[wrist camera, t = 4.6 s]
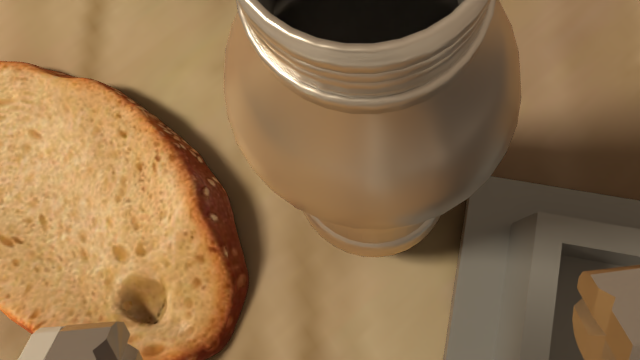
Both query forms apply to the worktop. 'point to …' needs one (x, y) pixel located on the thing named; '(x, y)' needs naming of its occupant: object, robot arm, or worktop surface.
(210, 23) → the worktop surface
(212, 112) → the worktop surface
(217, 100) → the worktop surface
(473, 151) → the plastic bottle
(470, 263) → the holder
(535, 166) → the worktop surface
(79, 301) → the slice of bread
